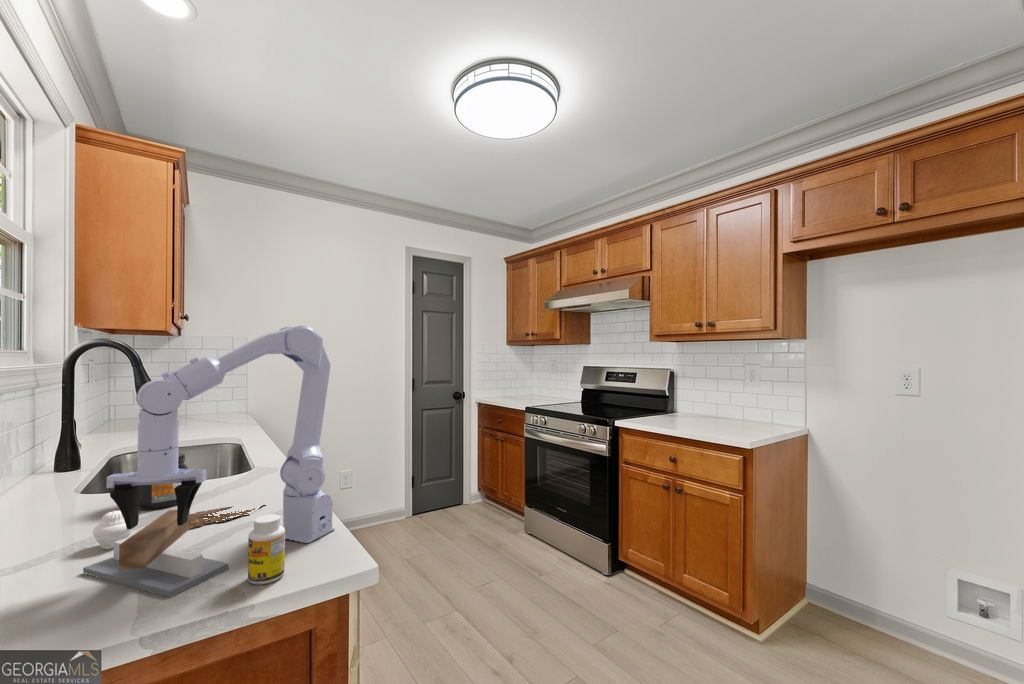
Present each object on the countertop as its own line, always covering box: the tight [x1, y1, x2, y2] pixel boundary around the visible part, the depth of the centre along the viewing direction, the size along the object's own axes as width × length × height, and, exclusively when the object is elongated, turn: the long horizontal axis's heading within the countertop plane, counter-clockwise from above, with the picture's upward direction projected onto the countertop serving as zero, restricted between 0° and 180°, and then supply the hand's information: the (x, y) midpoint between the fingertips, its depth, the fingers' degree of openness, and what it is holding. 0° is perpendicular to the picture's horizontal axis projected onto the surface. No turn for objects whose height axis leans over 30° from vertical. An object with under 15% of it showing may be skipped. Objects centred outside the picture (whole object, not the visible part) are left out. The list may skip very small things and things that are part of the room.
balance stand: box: [82, 537, 229, 598], centre depth 81 cm, size 22×10×4 cm, turn 70°
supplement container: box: [135, 451, 188, 511], centre depth 116 cm, size 10×10×12 cm
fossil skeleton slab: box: [189, 506, 255, 530], centre depth 107 cm, size 26×11×1 cm, turn 138°
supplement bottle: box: [247, 514, 286, 586], centre depth 79 cm, size 6×6×10 cm
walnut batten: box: [119, 509, 191, 570], centre depth 81 cm, size 4×16×4 cm, turn 13°
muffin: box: [92, 510, 133, 550], centre depth 91 cm, size 6×6×7 cm
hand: (157, 525), depth 81 cm, fingers open, 7 cm apart
